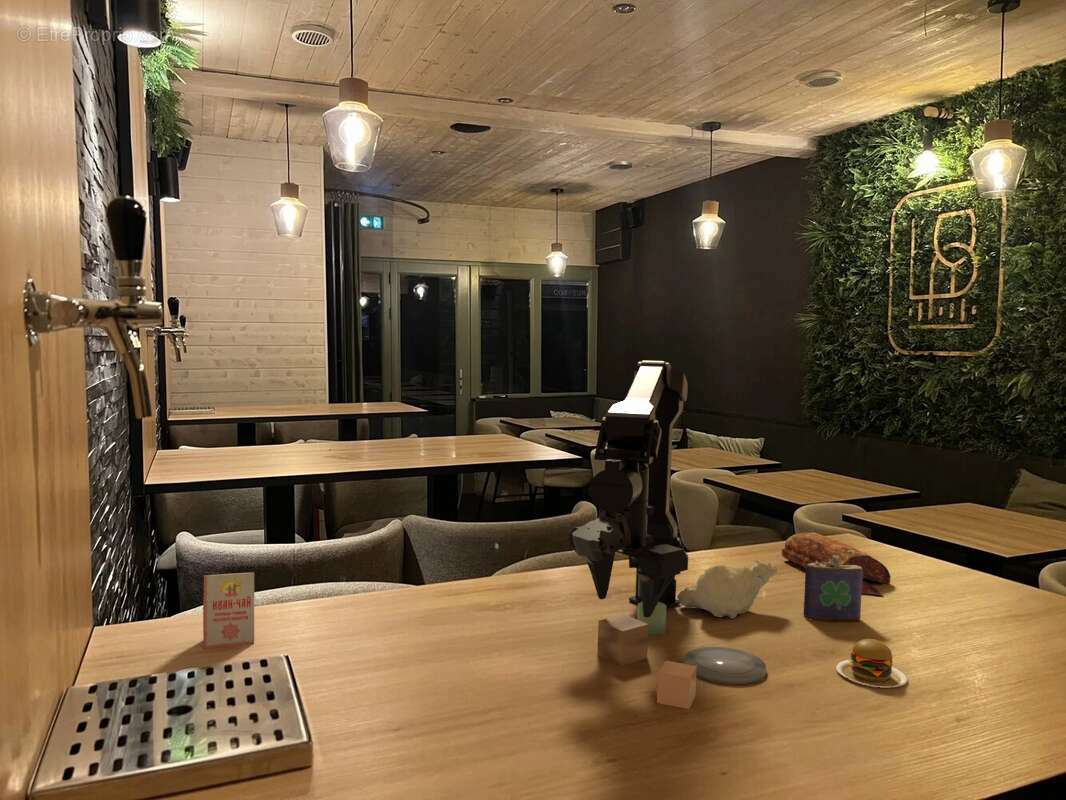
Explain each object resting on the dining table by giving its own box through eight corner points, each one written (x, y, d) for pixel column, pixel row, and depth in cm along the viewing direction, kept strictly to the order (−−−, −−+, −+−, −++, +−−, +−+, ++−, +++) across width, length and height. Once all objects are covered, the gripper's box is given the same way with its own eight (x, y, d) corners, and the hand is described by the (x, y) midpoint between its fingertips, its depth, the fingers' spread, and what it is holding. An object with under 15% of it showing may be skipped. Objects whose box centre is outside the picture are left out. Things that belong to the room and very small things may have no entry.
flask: (857, 617, 132) (860, 553, 131) (863, 623, 129) (867, 558, 128) (801, 615, 132) (804, 552, 132) (806, 621, 129) (809, 556, 129)
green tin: (631, 629, 124) (632, 604, 124) (651, 623, 127) (651, 599, 126) (651, 637, 120) (652, 612, 120) (671, 631, 123) (672, 606, 123)
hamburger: (865, 704, 101) (867, 662, 100) (805, 667, 112) (807, 629, 112) (940, 694, 104) (943, 653, 104) (875, 659, 116) (877, 622, 115)
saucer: (667, 663, 111) (667, 656, 111) (719, 646, 117) (719, 640, 117) (730, 691, 102) (731, 684, 102) (782, 671, 109) (782, 665, 109)
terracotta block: (656, 703, 98) (658, 672, 98) (664, 690, 102) (665, 660, 102) (689, 709, 97) (690, 677, 97) (695, 696, 101) (696, 666, 100)
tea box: (205, 639, 116) (204, 572, 115) (254, 635, 118) (254, 569, 117) (203, 648, 112) (203, 579, 111) (254, 644, 114) (253, 576, 114)
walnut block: (597, 654, 113) (598, 620, 113) (622, 647, 116) (623, 614, 116) (621, 666, 109) (622, 631, 109) (647, 658, 112) (648, 624, 112)
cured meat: (831, 600, 141) (834, 562, 141) (761, 562, 166) (763, 529, 165) (919, 598, 145) (922, 561, 145) (838, 561, 169) (840, 529, 169)
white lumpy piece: (678, 633, 128) (753, 588, 122) (661, 592, 132) (733, 547, 126) (725, 639, 139) (797, 599, 132) (708, 601, 143) (776, 560, 136)
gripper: (541, 493, 114) (539, 599, 115) (633, 518, 99) (629, 639, 100) (599, 486, 121) (596, 587, 122) (692, 508, 106) (688, 622, 107)
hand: (624, 607), depth 113 cm, fingers open, 9 cm apart
